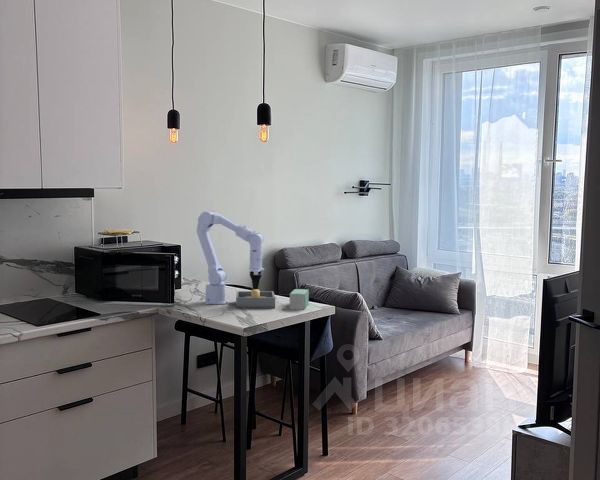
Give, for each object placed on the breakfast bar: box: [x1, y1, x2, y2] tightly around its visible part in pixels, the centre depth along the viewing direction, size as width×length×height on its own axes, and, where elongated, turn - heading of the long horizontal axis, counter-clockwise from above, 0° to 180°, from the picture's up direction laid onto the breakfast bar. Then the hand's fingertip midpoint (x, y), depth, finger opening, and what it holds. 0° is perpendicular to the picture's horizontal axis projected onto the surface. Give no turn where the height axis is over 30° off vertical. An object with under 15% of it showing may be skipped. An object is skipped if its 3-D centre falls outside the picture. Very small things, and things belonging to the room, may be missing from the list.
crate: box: [235, 290, 276, 309], centre depth 288 cm, size 18×16×5 cm
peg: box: [250, 289, 260, 297], centre depth 287 cm, size 4×4×6 cm
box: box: [288, 288, 310, 311], centre depth 286 cm, size 7×14×8 cm, turn 171°
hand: (255, 287), depth 287 cm, fingers open, 7 cm apart
